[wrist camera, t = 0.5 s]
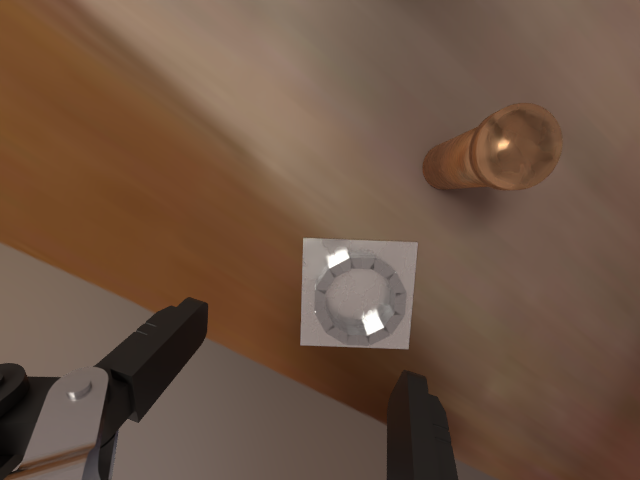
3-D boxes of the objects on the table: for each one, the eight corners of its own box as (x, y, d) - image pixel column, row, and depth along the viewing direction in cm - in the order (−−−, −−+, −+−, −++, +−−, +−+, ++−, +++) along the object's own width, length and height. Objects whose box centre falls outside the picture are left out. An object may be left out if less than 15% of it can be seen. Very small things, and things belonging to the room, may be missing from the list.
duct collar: (303, 237, 33) (301, 241, 30) (416, 241, 33) (425, 245, 30) (300, 342, 35) (298, 356, 32) (407, 346, 34) (415, 360, 32)
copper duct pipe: (421, 138, 31) (483, 101, 19) (474, 140, 31) (568, 104, 19) (416, 192, 32) (473, 188, 20) (468, 194, 32) (555, 191, 20)
